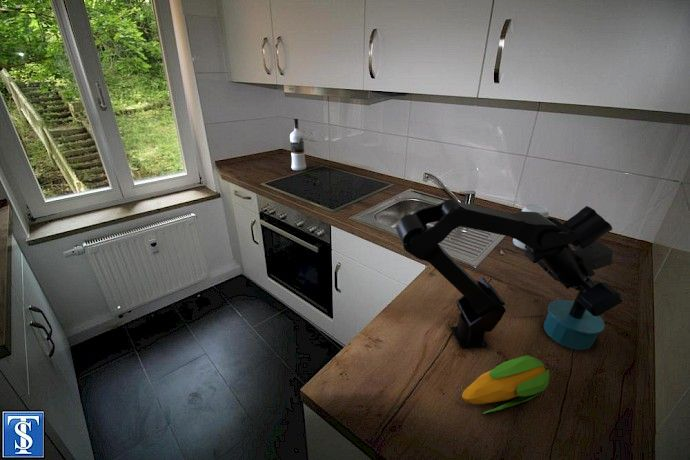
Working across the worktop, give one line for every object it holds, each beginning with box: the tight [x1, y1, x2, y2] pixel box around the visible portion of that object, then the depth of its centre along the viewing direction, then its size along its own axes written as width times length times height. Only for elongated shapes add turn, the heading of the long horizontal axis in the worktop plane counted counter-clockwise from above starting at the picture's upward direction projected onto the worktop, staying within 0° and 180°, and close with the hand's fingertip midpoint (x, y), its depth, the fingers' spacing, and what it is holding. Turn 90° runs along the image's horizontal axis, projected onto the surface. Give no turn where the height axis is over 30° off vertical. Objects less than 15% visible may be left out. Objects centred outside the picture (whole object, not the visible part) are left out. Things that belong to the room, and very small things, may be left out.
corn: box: [461, 354, 550, 415], centre depth 61 cm, size 7×8×20 cm
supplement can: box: [512, 203, 550, 251], centre depth 111 cm, size 8×8×15 cm
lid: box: [547, 281, 606, 335], centre depth 73 cm, size 11×11×10 cm
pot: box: [543, 311, 599, 351], centre depth 76 cm, size 10×10×5 cm
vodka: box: [289, 118, 307, 172], centre depth 190 cm, size 9×9×30 cm
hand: (589, 297), depth 72 cm, fingers open, 6 cm apart
